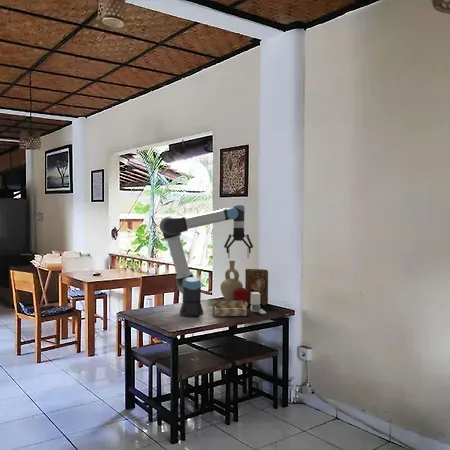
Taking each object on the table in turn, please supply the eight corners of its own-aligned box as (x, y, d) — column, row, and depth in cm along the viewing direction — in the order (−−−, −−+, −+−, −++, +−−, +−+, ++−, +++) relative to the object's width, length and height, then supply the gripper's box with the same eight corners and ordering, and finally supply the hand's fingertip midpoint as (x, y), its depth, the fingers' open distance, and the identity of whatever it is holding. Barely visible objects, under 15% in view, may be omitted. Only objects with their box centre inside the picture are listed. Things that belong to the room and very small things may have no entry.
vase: (247, 301, 361) (247, 261, 360) (229, 304, 351) (229, 262, 350) (233, 298, 374) (234, 259, 373) (215, 300, 364) (216, 260, 363)
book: (244, 304, 350) (245, 269, 350) (245, 302, 356) (245, 268, 355) (267, 305, 349) (268, 270, 348) (267, 303, 354) (268, 269, 353)
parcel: (252, 312, 321) (252, 294, 320) (250, 309, 328) (250, 292, 327) (260, 311, 321) (260, 293, 321) (257, 309, 328) (258, 292, 328)
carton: (212, 317, 306) (213, 304, 306) (210, 313, 319) (210, 300, 319) (248, 316, 310) (248, 304, 310) (244, 312, 323) (244, 300, 322)
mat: (248, 314, 318) (248, 313, 318) (244, 310, 330) (244, 309, 330) (266, 313, 320) (266, 312, 320) (261, 310, 332) (262, 308, 332)
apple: (250, 307, 341) (251, 288, 341) (234, 307, 340) (234, 288, 339) (247, 303, 353) (247, 285, 353) (231, 303, 352) (232, 285, 351)
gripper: (221, 227, 330) (221, 258, 331) (257, 227, 334) (257, 258, 335) (220, 227, 338) (219, 257, 338) (255, 227, 342) (254, 257, 343)
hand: (238, 258), depth 337 cm, fingers open, 13 cm apart
